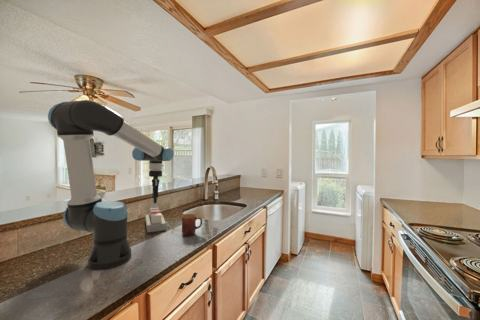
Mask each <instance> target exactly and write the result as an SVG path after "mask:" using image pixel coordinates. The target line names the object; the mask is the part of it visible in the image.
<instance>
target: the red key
mask: <svg viewBox="0 0 480 320" xmlns="http://www.w3.org/2000/svg"><path fill="white" fill-rule="evenodd" d="M156 213H161V210H160V209H159V210H151V214H156Z"/></svg>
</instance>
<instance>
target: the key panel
mask: <svg viewBox="0 0 480 320" xmlns="http://www.w3.org/2000/svg"><path fill="white" fill-rule="evenodd" d="M160 213H161V212H160ZM145 226H146V233H154V232H160V231H167V222H166V219H165V218H164V215H163V213H161V223H156V224H152V222H151V217H150V214H146V215H145Z"/></svg>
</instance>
